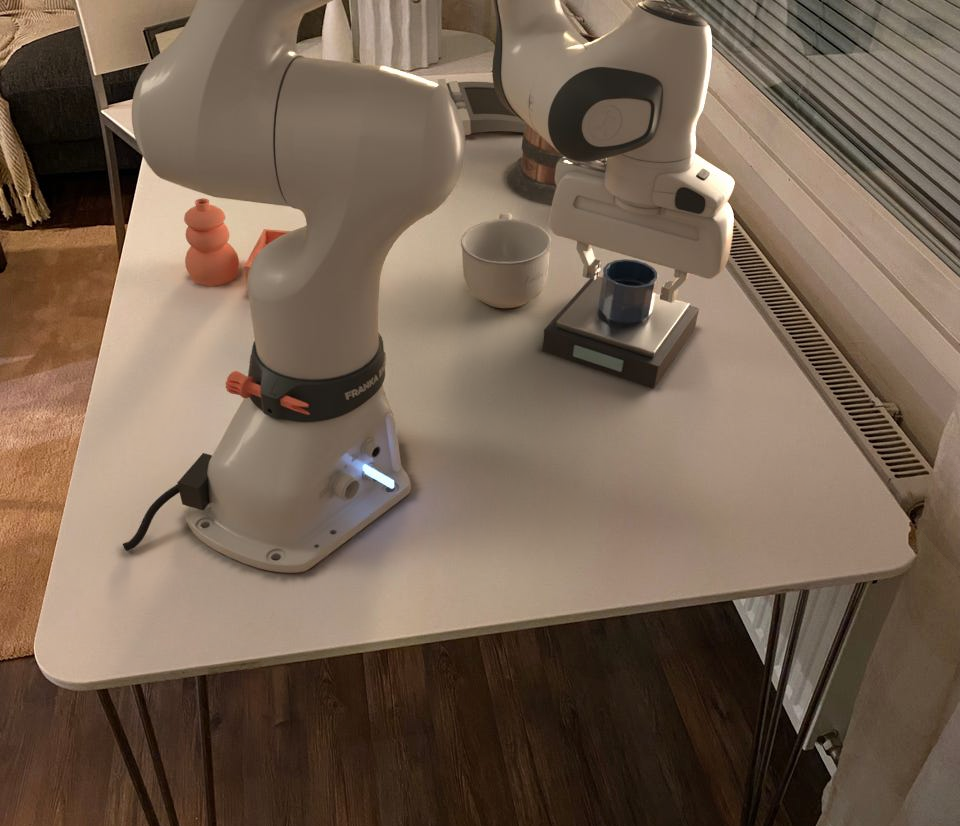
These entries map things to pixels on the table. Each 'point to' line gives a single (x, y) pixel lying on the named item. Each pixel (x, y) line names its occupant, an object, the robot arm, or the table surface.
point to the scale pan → (628, 336)
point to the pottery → (215, 246)
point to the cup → (627, 290)
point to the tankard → (537, 164)
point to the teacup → (505, 261)
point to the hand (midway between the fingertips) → (628, 287)
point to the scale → (618, 349)
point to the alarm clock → (481, 107)
